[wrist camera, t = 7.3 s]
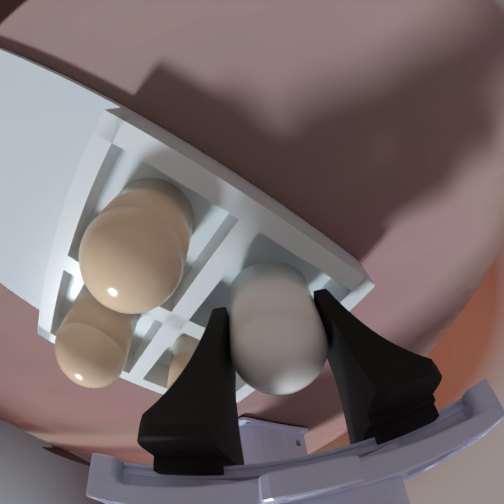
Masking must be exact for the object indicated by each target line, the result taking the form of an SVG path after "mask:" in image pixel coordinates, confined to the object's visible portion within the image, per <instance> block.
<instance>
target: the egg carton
mask: <svg viewBox="0 0 504 504" xmlns="http://www.w3.org/2000/svg"><path fill="white" fill-rule="evenodd" d="M144 178H157V179H162V180H165V181H167V182H169V183H171V184H173V185H175V186H176V187H177V188H179V189H180V190H181V191H182V192H183V193H184V194H185V196H186V197H187V199H188V200H189V202H190V204H191V207H192V210H193V214H194V227H193V231H192V236H191V240H190V244H189V249H188V253H187V258H186V263H185V267H184V272H183V276H182V278H181V281H180V283H179V285H178V287H177V289H176V290H175V292H174V293H173V294H172V296H171V297H170V298H169V299H168V300H167V301H166V302H165V303H163V304H162V305H160V306H159V307H157V308H155V309H153V310H150V311H148V312H144V313H139V319H138V322H137V325H136V329H135V332H134V335H133V339H132V342H131V346H130V349H129V353H128V357H127V360H126V364H125V367H124V370H123V371H122V373H121V375H120V376H119V377H121V378H123V379H125V380H128V381H130V382H132V383H135V384H137V385H140V386H142V387H145V388H147V389H150V390H152V391H155V392H158V393H161V394H163V395H164V394H165V392H166V391H167V383H168V376H169V368H170V361H171V354H172V347H173V344H174V342H175V340H176V339H177V338H178V337H180V336H181V335H183V334H187V335H189V336H192V337H194V338H196V339H199V340H200V339H201V337H202V335H203V333H204V331H205V328H206V326H207V323H208V321H209V318H210V315H211V312H212V310H213V309H215V308H221V307H226V309H227V312H228V316H229V309H228V292H229V288H230V285H231V283H232V281H233V280H234V278H235V277H236V276H237V275H238V274H239V273H240V272H242V271H243V270H244V269H246V268H248V267H250V266H252V265H255V264H257V263H261V262H268V261H276V262H283V263H286V264H289V265H291V266H293V267H295V268H296V269H298V270H299V271H300V272H301V273H302V274H303V276H304V277H305V279H306V282H307V284H308V287H309V289H310V292H311V294H312V297H313V299H314V291H316V290H321V289H327V290H328V291H329V292H330V293H331V294H332V295H333V296H334V297H335V298H336V299H337V300H338V301H339V302H340V303H341V304H342V305H343V306H344V307H345V308H346V309H347V310H348V311H350V310H351V309H352V308H353V307H354V306H355V305H356V304H357V303H358V302H359V301H360V300H362V299H363V298H364V297H365V296H366V295H367V294H368V293H369V292H370V291H371V290H372V289H373V288H374V287H375V286H376V285H375V284H374V282H373V281H372V279H371V278H370V277H369V275H368V274H367V272H366V271H365V269H364V268H363V266H362V265H361V264H360V262H359V261H358V260H357V259H356V258H354V257H353V256H352V255H351V254H349V253H348V252H347V251H345V250H344V249H343V248H341V247H340V246H339V245H337V244H336V243H335V242H333V241H332V240H331V239H329V238H328V237H327V236H325V235H324V234H323V233H321V232H320V231H318V230H317V229H316V228H314V227H313V226H312V225H310V224H309V223H307V222H306V221H305V220H303V219H302V218H300V217H299V216H298V215H296V214H295V213H293V212H292V211H291V210H289V209H288V208H286V207H285V206H283V205H282V204H281V203H279V202H278V201H276V200H275V199H273V198H272V197H270V196H269V195H267V194H266V193H265V192H263V191H262V190H260V189H259V188H257V187H256V186H254V185H253V184H251V183H250V182H248V181H247V180H245V179H244V178H242V177H241V176H239V175H238V174H236V173H234V172H233V171H231V170H230V169H228V168H227V167H225V166H224V165H222V164H221V163H219V162H217V161H216V160H214V159H213V158H211V157H210V156H208V155H206V154H205V153H203V152H202V151H200V150H198V149H197V148H195V147H193V146H192V145H190V144H189V143H187V142H185V141H184V140H182V139H180V138H179V137H177V136H175V135H174V134H172V133H170V132H169V131H167V130H165V129H163V128H162V127H160V126H158V125H157V124H155V123H153V122H151V121H150V120H148V119H146V118H144V117H143V116H141V115H139V114H137V113H136V112H134V111H132V110H130V109H128V108H127V107H125V106H123V105H121V104H119V103H117V102H116V101H114V100H112V99H110V98H108V97H106V96H104V95H102V94H100V93H99V92H97V91H95V90H93V89H91V88H89V87H87V86H85V85H83V84H81V83H79V82H77V81H75V80H73V79H71V78H69V77H67V76H65V75H63V74H61V73H58V72H56V71H54V70H52V69H50V68H48V67H46V66H43V65H41V64H39V63H37V62H34V61H32V60H30V59H28V58H25V57H23V56H21V55H18V54H16V53H14V52H11V51H9V50H6V49H4V48H1V47H0V283H1V284H3V285H4V286H5V287H7V288H8V289H10V290H11V291H12V292H14V293H15V294H17V295H18V296H19V297H21V298H22V299H24V300H25V301H27V302H28V303H30V304H31V305H33V306H34V307H36V308H37V309H39V310H40V313H39V322H38V332H37V334H39V335H40V336H42V337H44V338H45V339H47V340H49V341H50V342H52V343H54V344H55V338H56V335H57V332H58V330H59V328H60V326H61V324H62V322H63V320H64V318H65V316H66V315H67V313H68V311H69V309H70V307H71V306H72V304H73V302H74V300H75V299H76V297H77V295H78V293H79V292H80V290H81V288H82V287H83V286H84V285H85V284H84V281H83V279H82V276H81V273H80V268H79V248H80V243H81V240H82V237H83V235H84V233H85V230H86V229H87V227H88V226H89V224H90V223H91V222H92V220H93V219H94V218H95V217H96V216H97V215H98V214H99V213H100V212H101V211H102V210H103V209H104V208H105V207H106V206H107V205H108V204H109V203H110V202H111V201H112V200H113V199H114V198H115V197H116V196H117V195H118V194H119V193H120V192H121V191H122V190H123V189H124V188H125V187H126V186H127V185H129V184H130V183H132V182H134V181H137V180H139V179H144ZM254 390H255V389H254V388H252V387H250V386H249V385H248V384H246V383H245V382H244V381H243V380H242V379H241V378H240V376H239V375H238V374H237V372H236V403H238V402H239V401H241V400H242V399H243V398H245V397H246V396H248V395H249V394H250V393H252V392H253V391H254Z"/></svg>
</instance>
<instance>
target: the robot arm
mask: <svg viewBox="0 0 504 504" xmlns="http://www.w3.org/2000/svg"><path fill="white" fill-rule="evenodd" d="M314 302H315V305H316V307H317V310H318V312H319V315H320V318H321V320H322V323H323V325H324V328H325V331H326V335H327V339H328V354H327V359H328V362H329V364H330V366H331V369H332V371H333V374H334V377H335V380H336V383H337V387H338V391H339V394H340V398H341V402H342V406H343V410H344V415H345V420H346V424H347V429H348V434H349V440H350V445H348V446H344V447H341V448H337V449H333V450H329V451H325V452H321V453H317V454H312V455H308V453H307V449H306V444H305V439H304V434H305V433H307V432H308V428H303V427H296V426H290V425H284V424H278V423H273V422H267V421H262V420H257V419H253V418H248V417H241V418H239V419H238V414H237V404H236V370H235V368H234V366H233V364H232V360H231V357H230V341H229V316H228V312H227V309H226V307H221V308H215V309H213V310H212V312H211V315H210V318H209V321H208V323H207V326H206V328H205V331H204V333H203V335H202V337H201V339H200V342H199V344H198V346H197V347H196V349H195V351H194V353H193V355H192V357H191V358H190V360H189V362H188V363H187V365H186V367H185V368H184V370H183V371H182V373H181V374H180V375H179V377H178V378H177V379H176V381H175V382H174V383H173V384H172V386H171V387H170V388H169V389H168V390H167V391H166V392H165V394H164V395H163V396H162V397H161V398H160V399H159V400H158V401H157V402H156V403H155V404H154V405H153V406H152V407H150V408H149V409H148V410H147V411H146V412H145V413H144V414H143V415H142V418H141V421H140V426H139V432H138V440H137V441H138V443H139V445H140V446H141V447H142V448H144V449H145V450H146V451H148V452H149V453H151V454H152V455H153V456H154V464H153V465H142V464H133V463H125V462H123V461H122V460H120V459H118V458H116V457H113V456H109V455H103V454H97V453H93V454H92V458H91V464H90V470H89V477H88V484H87V491H86V495H87V496H88V497H90V498H93V499H96V500H98V501H101V502H104V503H107V504H410V503H409V499H408V496H407V492H406V489H405V486H404V483H403V482H404V481H406V480H408V479H410V478H412V477H414V476H416V475H418V474H420V473H422V472H424V471H426V470H428V469H430V468H432V467H434V466H436V465H437V464H439V463H441V462H443V461H445V460H446V459H448V458H450V457H451V456H453V455H455V454H456V453H458V452H460V451H461V450H463V449H465V448H466V447H468V446H469V445H471V444H472V443H474V442H475V441H477V440H478V439H480V438H481V437H482V436H484V435H485V434H486V433H487V432H489V431H490V430H491V429H492V428H493V427H494V426H495V425H496V424H498V422H500V421H501V420H502V419H503V418H504V409H503V407H502V406H501V404H500V402H499V400H498V398H497V396H496V395H495V393H494V391H493V389H492V388H491V386H490V384H489V383H488V381H487V379H484V380H483V381H481V382H480V383H478V384H476V385H474V386H473V387H471V388H470V389H469V390H467V391H466V392H465V394H464V395H463V396H462V398H461V399H459V400H457V401H456V402H454V403H452V404H450V405H448V406H446V407H444V408H442V409H440V410H438V411H437V409H436V407H435V405H434V402H435V398H434V396H433V393H434V391H435V390H436V388H437V387H438V385H439V384H440V381H441V379H442V375H441V373H440V372H439V370H438V368H437V366H436V365H435V364H434V362H433V361H432V359H429V358H426V357H423V356H420V355H417V354H415V353H412V352H410V351H408V350H405V349H403V348H401V347H399V346H397V345H395V344H393V343H392V342H390V341H388V340H386V339H384V338H383V337H381V336H380V335H378V334H377V333H375V332H374V331H372V330H371V329H370V328H368V327H367V326H366V325H364V324H363V323H362V322H361V321H359V320H358V319H357V318H356V317H355V316H354V315H352V314H351V313H350V312H349V311H348V310H347V309H346V308H345V307H344V306H343V305H342V304H341V303H340V302H339V301H338V300H337V299H336V298H335V297H334V296H333V295H332V294H331V293H330V292H329V291H328V290H327V289H321V290H316V291H314Z"/></svg>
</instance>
